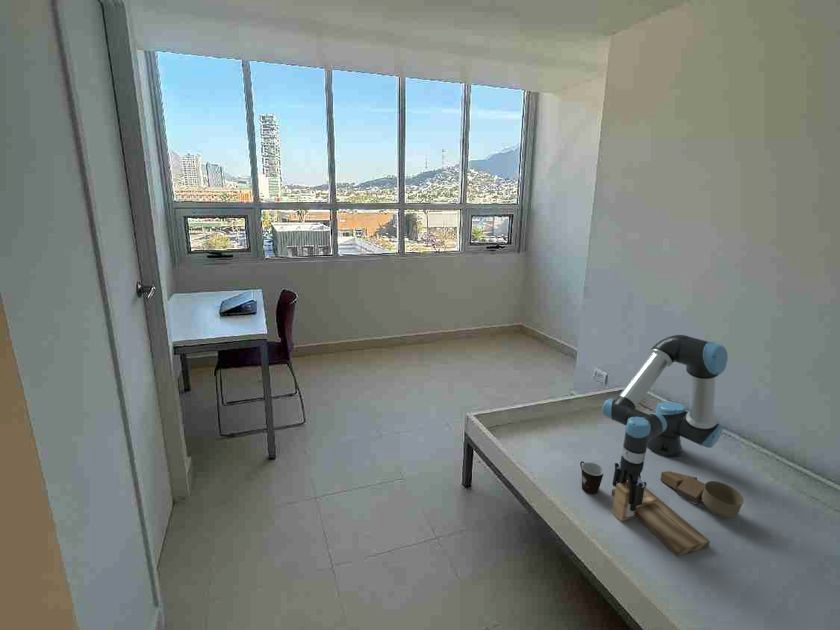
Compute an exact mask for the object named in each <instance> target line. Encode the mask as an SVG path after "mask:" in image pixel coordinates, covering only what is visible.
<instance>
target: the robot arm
mask: <svg viewBox="0 0 840 630" xmlns="http://www.w3.org/2000/svg"><path fill="white" fill-rule="evenodd" d="M728 356H729V355H728V351H727V349H726V348H725V346H724V345H721V344H718V343H715V342H713V341H707V340H703V339H700V338H695V337H692V336H688V335H686V334H674V335H671V336H668V337H665V338H663V339H661V340H659V341H658V342H657V343H655V344H654V345H653V346H652V347H651V348H650V350H649V351H648V357H647V358H646V360H644V362H643V363H642V365H641V366H640V367H639V369H638V370H637V371H636V373H635V374H634V375H633V376H632V378H630V381H629V382H628V383H627V384H626V386H625V387H624V388H623V390H622V391H621V392H620V394H619V395H618V396H617V397H616V399H614V398H608V399H606V400H605V401H604V403H603V404H602V408H601V409H602V410H601V411H602V414H603V415H604V416H605V417H606V418H608V419H610V420H612V421H615V422H617V423H620V424H621V425H623V426H625V433H624V439H623V445H622V451H621V456H620V461H619V462H615V463H614V472H613V473H614V474H613V480H612V486H613V487H615V488H616V484H617V483H625V482H627V481H628V485H629V489H630V501H629V502H628V505H627V511H626V517H631V516H633V513H634V511H635V510H636V506H638V505H642V500H643V494H644V488H645V487H646V488H647V485H648V484H647V482H646V481H643V480H642V476H641V473H642V472H643V470H644V465H645V461H646V460H645V459H646V453H647V449H649V450H650V451H651V452H652V453H655V454H657V455H660V456H662V457H666V458H676V457H679V456H681V455H682V451H683V447H682V442H681V441H682V440H681V438H684V439H686V440H688V441H690V442H693V443H695V444H698V445H699V446H702V447H705V448H708V449H709V448H713V447H714V446H715V445H716V444H717V442H718V441H719V439H720V437H721V435H722V433H723V430H724V426H723V425H722V424H721V423H718V418H717V415H716V414H714V410H715V389H716V378H718V377H719V375H722V374H723V372H725V370H726V367H727V362H728ZM673 363H679V364H681V365H685V371H686V373H687V374H688V375H689V376H690V379H689V380H690V382H689V383H690V385H689V386H690V387H689V411H687V407H686V405H684V404H682V403H679V402H675V401H662V402H659V403H658V404H657V406H656V408H655V409H656V410H655V412H651V413H647V412H644V411H642V410H639V409H637V407H638V405H639V404H640V402H642V400H643V399H644V397H645V396H646V394H647V393H648V392H649V390H650V389H651V388H652V386H653V385H654V384H655V382H656V381H657V380H659V379H658V378H659V377H660V376H661V374H662V373H663V372H664V371H665V369H666V368H667V367H670V366H672V365H673Z"/></svg>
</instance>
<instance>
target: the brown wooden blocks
mask: <svg viewBox="0 0 840 630" xmlns="http://www.w3.org/2000/svg"><path fill="white" fill-rule="evenodd" d="M659 480H660V482H662V483H664V484H666V485H668V486H669V487H671V488H673V489H674V490H676V491H677V494H678V495H679V497H682V498H684V499H686V500H688V501H690V502H692V503H694V504H696V505H700V503H701V502H703V500H702V493H703V491H704V488H705V487H704V485H705V483H706V482H703V481H700V480H698V477H695V476H692V475H688V474H683V473H679V472H675V471H670V470H666V471H661V474H660V479H659Z"/></svg>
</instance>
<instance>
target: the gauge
mask: <svg viewBox="0 0 840 630" xmlns="http://www.w3.org/2000/svg"><path fill="white" fill-rule="evenodd" d="M615 489H616V490H615V496H613V502H612V503H613V504H612V508H611V513H612V514H613V515H614V516H615V517H616V518H617V519H618V520H620V522H625V521H627V520H631V519H634V518H635V511H636V510H635V511H634V513H633V516H631V517H626V511H627V505H628V502H629V501H630V489H629V485H628V480H627V482H625V483H617V484H616V487H615ZM653 503H657V499H656V498H655V497H654V496H651V497H647V498H643V500H642V505H638V506H636V508H637V507H641V506H645V505H649V504H653Z"/></svg>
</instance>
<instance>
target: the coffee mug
mask: <svg viewBox="0 0 840 630" xmlns="http://www.w3.org/2000/svg"><path fill="white" fill-rule="evenodd" d="M579 466H580V469H581V489H582V491H583V492H584V493H586V494H588V495H596V494H598V493H599V490H600V486H601V484H602V480H603V478H604V475H605V469H604V468H603V467H602V466H601V465H600V464H598V463H596V462H591V461H590V462H588V461H587V462H584V460H583V461H580V465H579Z"/></svg>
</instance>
